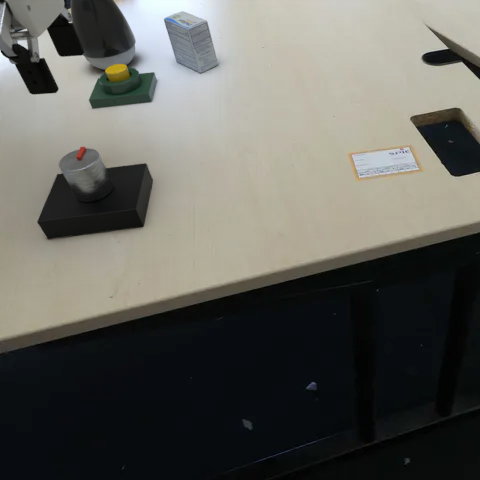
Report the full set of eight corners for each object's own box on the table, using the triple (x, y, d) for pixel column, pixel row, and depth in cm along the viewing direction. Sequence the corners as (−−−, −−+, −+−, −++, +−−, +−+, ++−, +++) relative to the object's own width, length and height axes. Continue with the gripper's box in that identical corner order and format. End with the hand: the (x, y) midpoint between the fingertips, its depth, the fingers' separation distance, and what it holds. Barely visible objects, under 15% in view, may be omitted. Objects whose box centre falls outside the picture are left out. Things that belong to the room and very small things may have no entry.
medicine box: (219, 65, 101) (208, 19, 95) (200, 74, 99) (187, 28, 93) (194, 54, 105) (182, 9, 99) (175, 62, 103) (162, 17, 97)
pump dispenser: (121, 79, 99) (88, -6, 88) (76, 72, 101) (39, -11, 91) (153, 55, 106) (126, -27, 95) (110, 49, 108) (79, -30, 98)
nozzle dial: (109, 200, 68) (92, 166, 64) (70, 204, 68) (52, 170, 64) (117, 177, 72) (102, 144, 68) (80, 181, 71) (63, 148, 68)
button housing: (92, 109, 91) (84, 90, 89) (101, 86, 97) (93, 68, 95) (151, 102, 92) (145, 83, 90) (157, 80, 98) (151, 62, 95)
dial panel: (47, 239, 68) (36, 221, 66) (66, 190, 75) (57, 173, 73) (143, 226, 69) (135, 209, 67) (153, 180, 76) (146, 163, 74)
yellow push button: (107, 84, 91) (103, 74, 90) (110, 74, 94) (107, 65, 92) (128, 81, 91) (125, 72, 90) (131, 72, 94) (128, 62, 93)
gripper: (-15, -105, 59) (53, 44, 71) (-101, -60, 47) (-2, 111, 59) (53, -109, 60) (109, 41, 71) (-15, -65, 47) (67, 107, 59)
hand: (59, 72), depth 65 cm, fingers open, 9 cm apart
